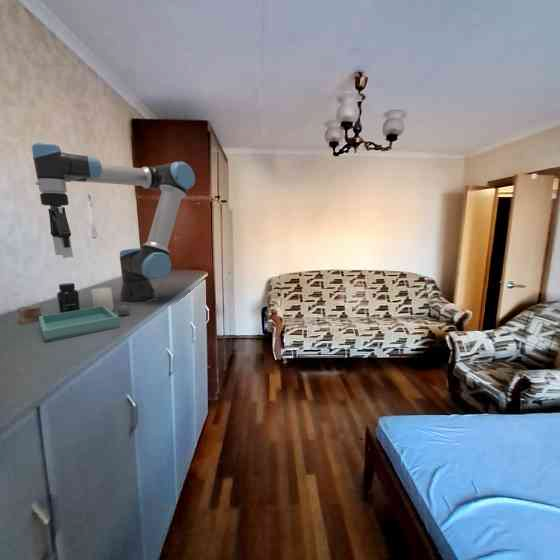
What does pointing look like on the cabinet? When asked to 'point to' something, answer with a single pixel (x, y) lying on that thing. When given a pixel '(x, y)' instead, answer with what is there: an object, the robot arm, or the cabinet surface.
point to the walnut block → (29, 314)
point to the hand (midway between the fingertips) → (64, 256)
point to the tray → (77, 323)
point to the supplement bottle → (68, 298)
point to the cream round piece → (103, 297)
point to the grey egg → (123, 309)
